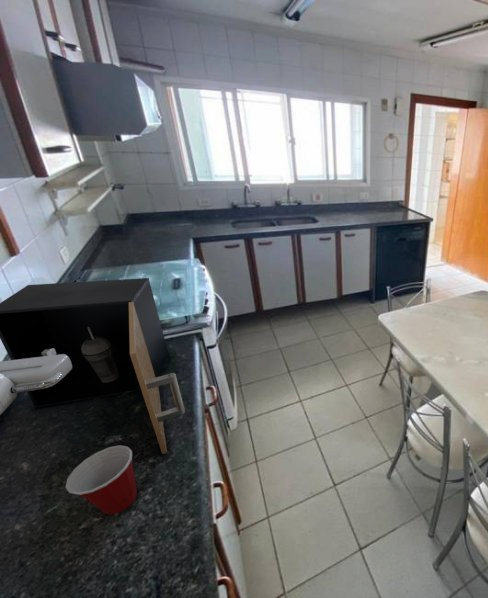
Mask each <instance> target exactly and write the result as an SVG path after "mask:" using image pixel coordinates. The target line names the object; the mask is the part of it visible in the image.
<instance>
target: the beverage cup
mask: <svg viewBox="0 0 488 598" xmlns="http://www.w3.org/2000/svg"><path fill="white" fill-rule="evenodd" d="M87 328H88V331H89V333H90V335H91V338H88V339H87V340H86V341H85V342H84V343H83V344H82V347H81V351H82V355H84V357H85V358H86V359H87V360H88V361H89V363H90V364H91V366H92V367H93V369H94V370H95V372H96V373H97V375H98V377H99V378H100V379H101V380H102V382H104V383H107V382H111V381H114V380H116V379H117V378H118V377H119V372H118V368H117V365H116V361H115V358H114V355H113V348H112V344H111V343H110V342H109V340H108V339H106V338H104V337H100V336H95V337H93V334H92V332H91V330H90V327H87Z"/></svg>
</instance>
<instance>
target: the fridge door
mask: <svg viewBox="0 0 488 598" xmlns="http://www.w3.org/2000/svg"><path fill="white" fill-rule="evenodd" d="M129 341H130V357H131V360H132V363H133V366H134V373H135V376H136V378H137V381H138V384H139V387H140V390H141V394H142V396H143V400H144V403H145V406H146V409H147V412H148V415H149V418H150V421H151V424H152V427H153V430H154V433H155V436H156V439H157V443H158V445H159V449H160V451H161V454H162V455H165V454H166V452H167V453H168V450H167V442H166V434H165V427H164V421H167V420H170V419H172V418H176V417H179V416H181V415H184V414H185V413H186V409H185V405H184V401H183V397H182V393H181V390H180V387H179V382H178V379H177V375H176V373H174V372H172V373H167V374H164V375H161V376H160V377H157V378H156V377H155V374H154V371H153V367H152V364H151V361H150V357H149V354H148V350H147V347H146V344H145V340H144V337H143V334H142V330H141V327H140V323H139V320H138V317H137V313H136V310H135V307H134V303H133V302H129ZM168 384H169V387H170V391H171V394H172V397H173V401H174V404H175V407H173V408H170V409H167V410H164V411H162V404H161V396H160V388H159V387H161V386H165V385H168Z"/></svg>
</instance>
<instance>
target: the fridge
mask: <svg viewBox="0 0 488 598" xmlns="http://www.w3.org/2000/svg"><path fill="white" fill-rule="evenodd" d="M129 302H133V303H134V307H135V310H136V313H137V317H138V320H139V323H140V327H141V330H142V334H143V337H144V340H145V344H146V347H147V350H148V354H149V357H150V361H151V364H152V367H153V371H154V374H155V377H156V378H157V377H160V376H163V375H162V374H163V372H164V370H165V366H166V364H167V361H168V360H169V357H170V352H169V349H168V346H167V342H166V338H165V334H164V330H163V327H162V323H161V320H160V315H159V312H158V308H157V305H156V304H157V303H156V301H155V297H154V293H153V289H152V286H151V282H150V278H149V277H142V278H123V279H107V280H106V279H105V280H90V281H89V280H87V281H72V282H56V283H55V282H54V283H39V284H27V285H26V286H24V287H23V288H21V289H20V290H18V291H17V292H15V293H13V294H12V295H10V296H9V297H7V298H5V299H4V300H3V301H1V302H0V342H1V343H2V346H3V347H4V349H5V351H6V353H7V355H8V357H9V359H10V360H18V359H26V358H35V357H43V356H42V354H41V353H42V352H43V351H44V350H45V349H53V348H54V349H55V351H56V355H60V354H65V355H67V356H68V357H69V359H70V361H71V363H72V369H71V370H70V372H69V373H68V374H67V375H66V376H65V377H63V378H62V379H61V380H60V381H59V382H58V383H56V384H55V385H53V386H51V387H48V388H44V389H38V390H32V391H26V392H27V394H28V396H29V398H30V400H31V402H32V404H33V406H34V408H35V410H36V409H43V408H50V407H54V406H61V405H68V404H74V403H79V402H85V401H89V400H94V399H100V398H104V397H109V396H115V395H119V394H125V393H130V392H135V391H137V389H138V388H137V381H136V372H135V369H134V366H133V363H132V360H131V357H130V341H129ZM87 327H90V330H91V332H92V334H93V337H95V336H100V337H104V338H106V339H108V340H109V342H110V343H111V344H112V348H113V355H114V358H115V361H116V365H117V368H118V372H119V377H118V378H117V379H116V380H114V381H111V382H107V383H104V382H102V380H101V379H100V378H99V377H98V375H97V373H96V372H95V370H94V369H93V367H92V366H91V364H90V363H89V361H88V360H87V359H86V358H85V357H84V355H82V351H81V347H82V344H83V343H84V342H85V341H86V340H87V339H88V338H91V335H90V333H89V331H88V328H87Z"/></svg>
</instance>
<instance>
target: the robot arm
mask: <svg viewBox="0 0 488 598" xmlns="http://www.w3.org/2000/svg"><path fill="white" fill-rule="evenodd" d="M41 354H42V356H43V357H35V358H26V359H18V360H11V359H10V360H1V361H0V416H1V415H2V414H4V412H5V411H6V410H7V409H8V408H9V407H10V405H12V403H13V402H14V401H15V400H16V399H17V396H18V393H23V392H27V391H32V390H38V389H44V388H48V387H51V386H53V385H55V384H56V383H58V382H59V381H60V380H61V379H62V378H63V377H65V376H66V375H67V374H68V373H69V372H70V370H71V369H72V363H71V361H70V359H69V357H68V356H67V355H65V354H60V355H56V351H55V349H54V348H53V349H45V350H44V351H43V352H42V353H41Z"/></svg>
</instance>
